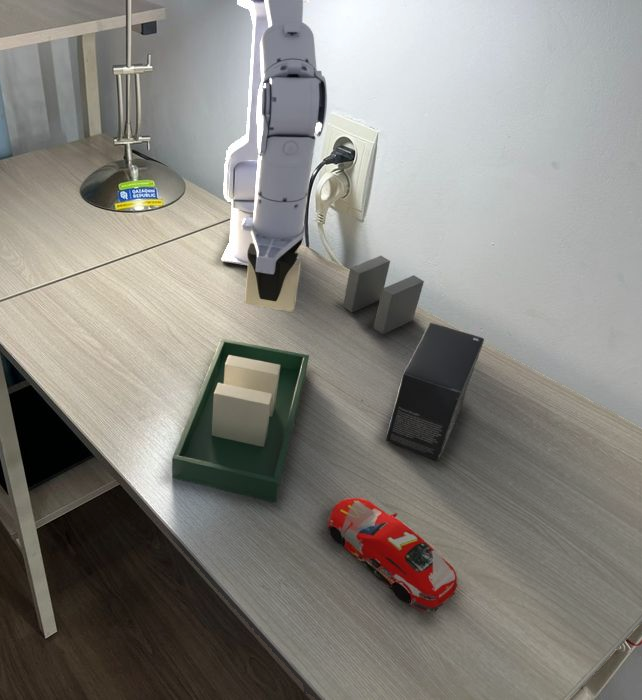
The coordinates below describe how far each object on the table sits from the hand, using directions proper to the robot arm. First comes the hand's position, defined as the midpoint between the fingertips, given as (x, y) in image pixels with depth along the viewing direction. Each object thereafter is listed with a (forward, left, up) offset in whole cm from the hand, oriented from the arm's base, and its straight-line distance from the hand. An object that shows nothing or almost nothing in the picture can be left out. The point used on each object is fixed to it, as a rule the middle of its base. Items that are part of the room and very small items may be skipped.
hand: (270, 293), depth 84 cm
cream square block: (0, 0, -2) cm, 2 cm away
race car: (+27, +17, -10) cm, 34 cm away
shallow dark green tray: (+13, 0, -10) cm, 16 cm away
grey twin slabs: (-14, +14, -10) cm, 21 cm away
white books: (+13, 0, -10) cm, 16 cm away
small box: (+7, +20, -10) cm, 24 cm away
